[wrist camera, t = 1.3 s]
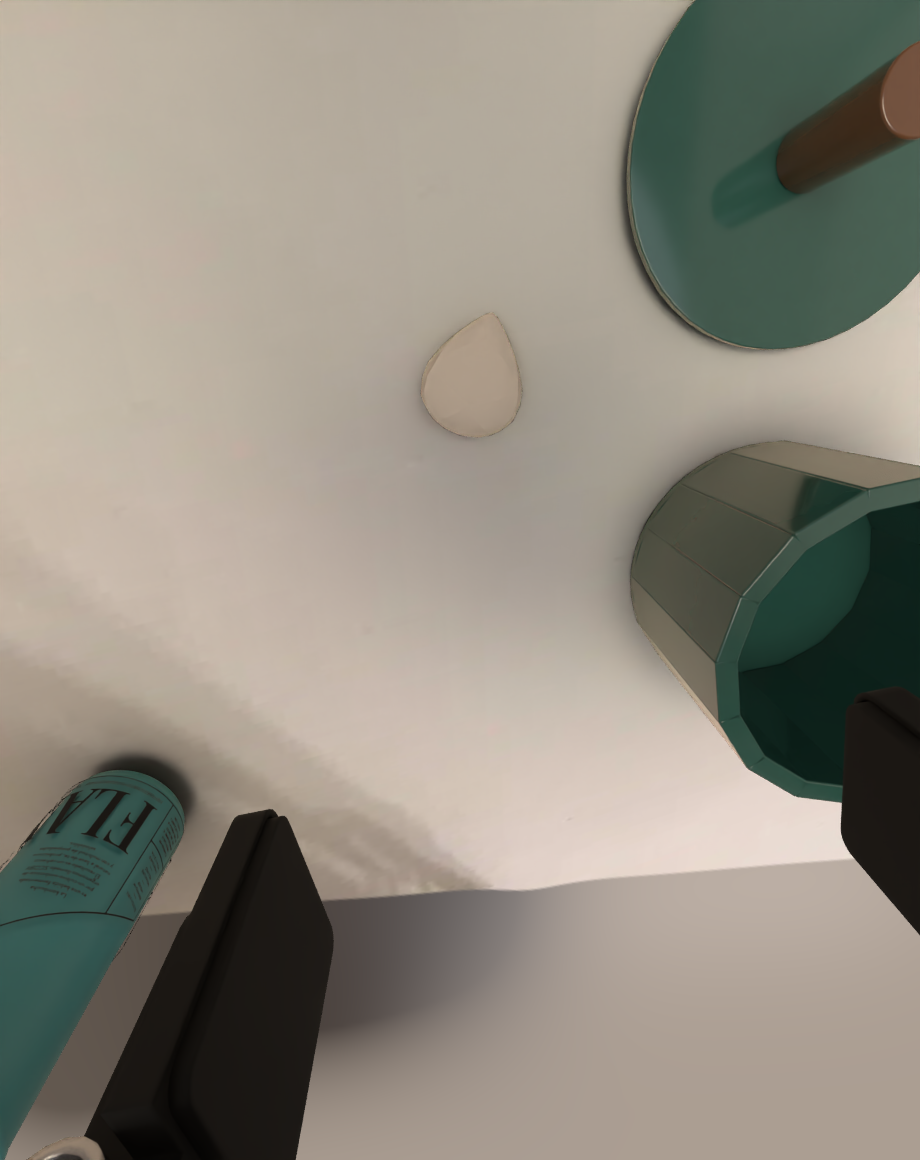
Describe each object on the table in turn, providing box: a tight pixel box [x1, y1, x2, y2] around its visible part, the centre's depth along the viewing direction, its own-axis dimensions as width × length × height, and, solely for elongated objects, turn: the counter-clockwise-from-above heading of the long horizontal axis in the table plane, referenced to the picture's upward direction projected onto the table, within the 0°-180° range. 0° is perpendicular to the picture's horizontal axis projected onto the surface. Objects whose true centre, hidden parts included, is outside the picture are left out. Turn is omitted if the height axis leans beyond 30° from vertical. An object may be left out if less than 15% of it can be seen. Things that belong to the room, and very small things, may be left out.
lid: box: [626, 0, 920, 350], centre depth 19 cm, size 14×14×7 cm
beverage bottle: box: [0, 770, 185, 1160], centre depth 22 cm, size 6×7×20 cm
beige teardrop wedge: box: [421, 313, 522, 438], centre depth 24 cm, size 4×5×2 cm
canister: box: [630, 440, 920, 803], centre depth 24 cm, size 13×13×10 cm
